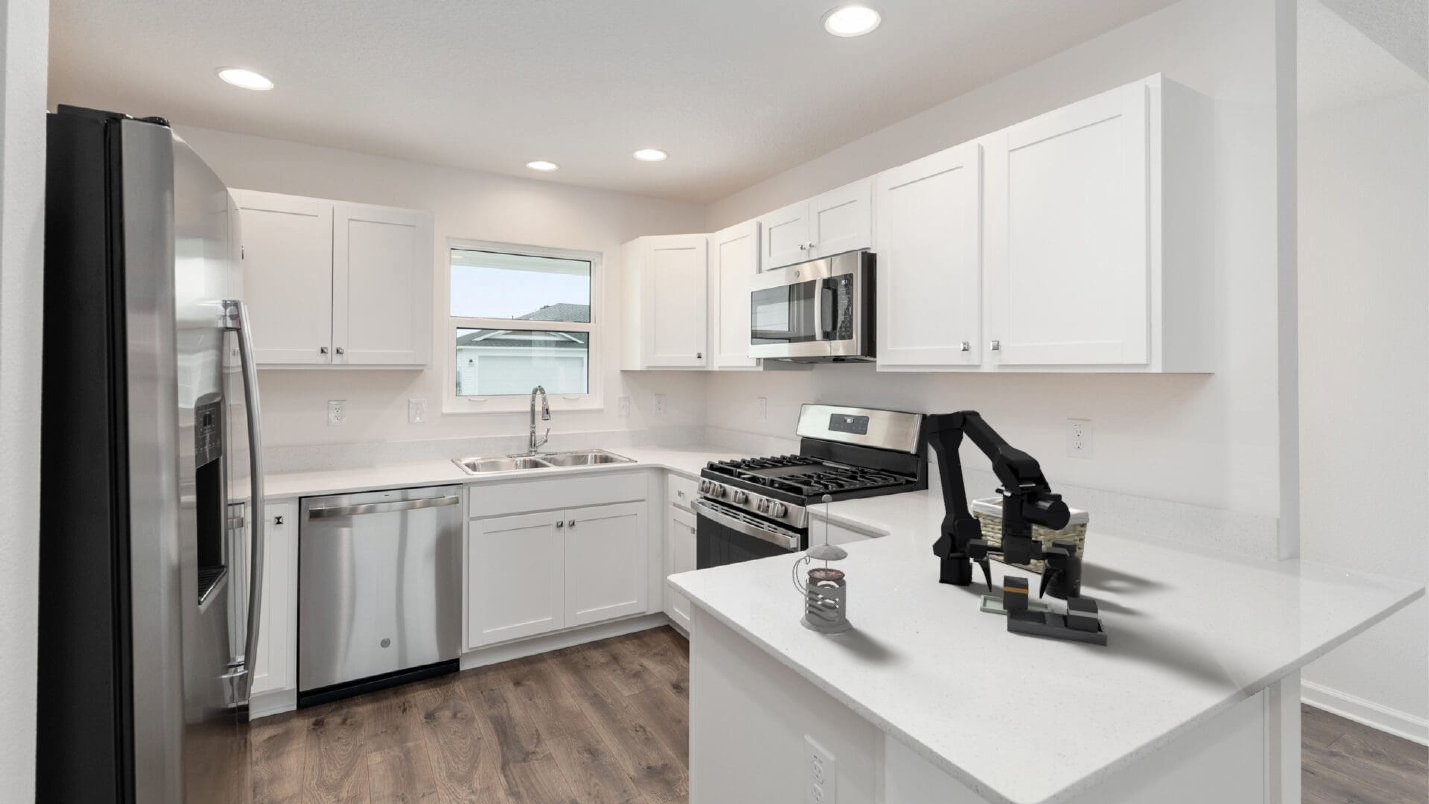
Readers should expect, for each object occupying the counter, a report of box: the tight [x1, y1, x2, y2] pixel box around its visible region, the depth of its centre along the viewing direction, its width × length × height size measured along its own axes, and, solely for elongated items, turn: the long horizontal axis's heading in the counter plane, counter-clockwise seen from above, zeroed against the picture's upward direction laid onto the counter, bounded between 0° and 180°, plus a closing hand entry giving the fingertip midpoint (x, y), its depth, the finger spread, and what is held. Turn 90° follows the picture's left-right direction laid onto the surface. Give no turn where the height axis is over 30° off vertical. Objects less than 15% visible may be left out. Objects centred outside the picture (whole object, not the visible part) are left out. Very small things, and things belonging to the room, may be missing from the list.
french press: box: [791, 494, 852, 634], centre depth 126 cm, size 10×12×25 cm
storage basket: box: [970, 496, 1090, 574], centre depth 168 cm, size 24×16×15 cm
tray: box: [979, 594, 1052, 616], centre depth 133 cm, size 13×8×1 cm, turn 66°
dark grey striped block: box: [1002, 574, 1030, 610], centre depth 133 cm, size 5×5×6 cm
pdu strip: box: [1006, 606, 1108, 647], centre depth 122 cm, size 16×8×2 cm, turn 66°
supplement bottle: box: [1044, 540, 1082, 601], centre depth 142 cm, size 7×7×12 cm
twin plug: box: [1066, 597, 1099, 632], centre depth 120 cm, size 5×5×6 cm
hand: (1015, 594), depth 133 cm, fingers open, 9 cm apart
